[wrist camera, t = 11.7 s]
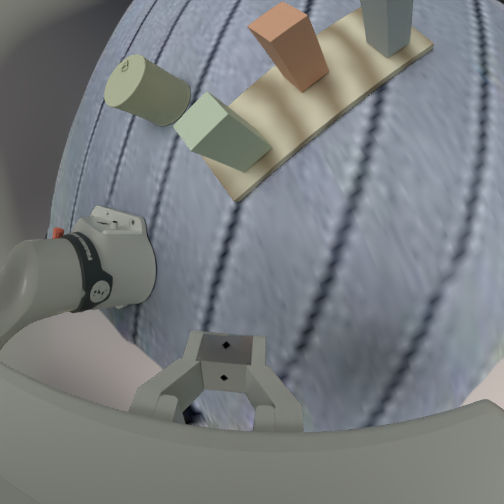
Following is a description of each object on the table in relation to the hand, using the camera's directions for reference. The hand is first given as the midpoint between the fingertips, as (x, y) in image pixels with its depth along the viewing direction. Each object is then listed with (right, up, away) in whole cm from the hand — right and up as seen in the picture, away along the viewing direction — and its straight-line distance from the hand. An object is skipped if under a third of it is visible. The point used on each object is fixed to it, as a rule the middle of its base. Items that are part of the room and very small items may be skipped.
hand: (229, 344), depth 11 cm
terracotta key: (+8, +28, +20) cm, 35 cm away
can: (-13, +30, +32) cm, 46 cm away
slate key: (+19, +32, +15) cm, 41 cm away
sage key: (+1, +17, +24) cm, 30 cm away
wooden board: (+10, +27, +22) cm, 36 cm away
